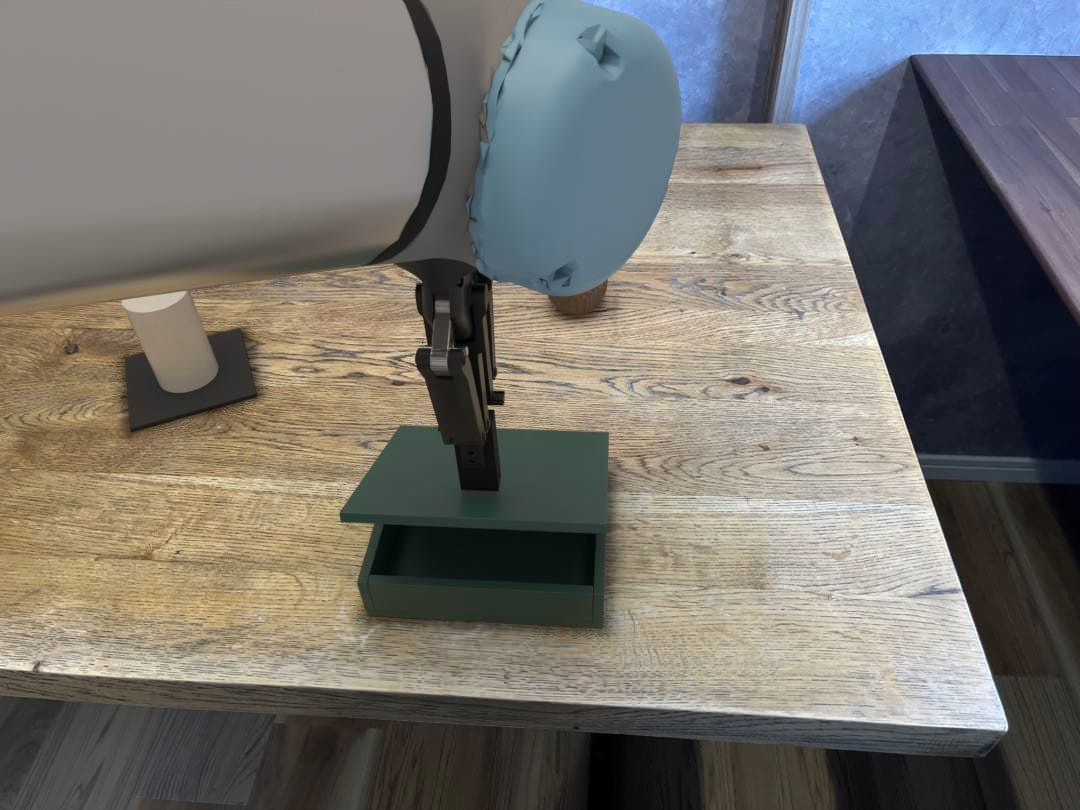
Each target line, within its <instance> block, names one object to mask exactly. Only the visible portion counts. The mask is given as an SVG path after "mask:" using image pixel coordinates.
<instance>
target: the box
mask: <svg viewBox="0 0 1080 810" xmlns="http://www.w3.org/2000/svg"><path fill="white" fill-rule="evenodd" d="M606 544H607V533H606V534H595V533H572V532H550V531H527V530H505V529H482V528H459V527H437V526H414V525H391V524H373V527H372V530H371V533H370V537H369V539H368V543H367V547H366V550H365V553H364V557H363V560H362V564H361V567H360V571H359V574H358V577H357V581H356V585H357V588H358V591H359V595H360V597H361V601H362V604H363V607H364V610H365V614H366V616H367V617H382V618H385V617H387V618H403V619H418V620H419V619H422V620H439V621H440V620H441V621H457V622H458V621H459V622H461V621H462V622H477V623H495V624H496V623H497V624H516V625H531V626H550V627H551V626H552V627H570V628H587V629H603V628H604V620H605V619H604V616H605V588H606V587H605V584H606V583H605V582H606V556H607V555H606V554H607V551H606V550H607V549H606V548H607V545H606Z"/></svg>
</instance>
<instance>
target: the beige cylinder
mask: <svg viewBox="0 0 1080 810" xmlns="http://www.w3.org/2000/svg"><path fill="white" fill-rule="evenodd" d="M120 301H121V306H122V308H123V310H124V312H125V314H126V316H127V318H128V320H129V323H130V325H131V327H132V329H133V332H134V334H135V336H136V338H137V340H138V342H139V344H140V347H141V349H142V351H143V353H145V355H146V357H147V360H148V362H149V364H150V366H151V368H152V370H153V373H154V375H155V377H156V379H157V381H158V383H159V385H160V387H161V388H162V389H164V390H165V391H168V392H172V393H185V392H190V391H194V390H197V389H199V388H201V387H203V386H205V385H207V384H208V383H209V382H211V381H212V380H213V379H214V378H215V376H216V375H217V373H218V369H219V365H218V362H217V360H216V357H215V355H214V352H213V350H212V347H211V344H210V342H209V339H208V337H207V336H208V333H207V331H206V329H205V327H204V324H203V321H202V319H201V317H200V314H199V311H198V309H197V307H196V303H195V301H194V298H193V295H192V293H191V290H190V291H183V292H176V293H168V294H161V295H154V296H147V297H140V298H133V299H126V300H120Z"/></svg>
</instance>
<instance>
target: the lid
mask: <svg viewBox="0 0 1080 810" xmlns="http://www.w3.org/2000/svg"><path fill="white" fill-rule="evenodd" d="M437 428H438V425H437V426H434V425H410V424H409V425H408V424H404V425H403V424H400V425H399V426H398V428H397V429H396V431H395V432H394V433H393V434H392V436H391V437H390V439H389V440H388V442H387V443H386V445H385V446H384V447H383V449H382V451H381V452H380V453H379V455H378V456H377V458H376V459H375V460H374V462H373V463H372V465H371V466H370V467H369V469H368V470H367V472H366V473H365V475H364V477H363V478H362V479H361V481H360V482H359V484H357V487H355V490H353V492H352V494H351V495H350V497H349V498H348V499H347V501H346V502H345V504H344V505H343V506H342V508H341V509H340V511H339V522H340V523H346V524H349V523H350V524H373V525H374V524H391V525H414V526H437V527H459V528H482V529H505V530H527V531H550V532H572V533H595V534H606V535H607V525H608V524H607V523H608V522H607V521H608V492H609V491H608V490H609V489H608V486H609V455H610V454H609V452H610V432H608V431H586V430H584V431H583V430H558V429H557V430H555V429H528V428H527V429H525V428H498V427H496V429H497V439H498V449H499V458H500V468H501V481H500V487H499V491H474V490H461V487H460V481H459V474H458V468H457V461H456V455H455V448H454V445H445V444H444V443H443V439H442V436H441V433H440V431H438V429H437Z"/></svg>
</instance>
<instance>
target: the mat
mask: <svg viewBox="0 0 1080 810" xmlns="http://www.w3.org/2000/svg"><path fill="white" fill-rule="evenodd" d="M207 337H208V339H209V342H210V344H211V347H212V350H213V352H214V355H215V357H216V360H217V362H218V365H219V369H218V373H217V375H216V376H215V378H214V379H213V380H212V381H211V382H209V383H208V384H207V385H205V386H203V387H201V388H199V389H197V390H194V391H190V392H185V393H172V392H168V391H165V390H164V389H162V388H161V387H160V385H159V383H158V381H157V379H156V377H155V375H154V373H153V370H152V368H151V366H150V364H149V362H148V360H147V357H146V355H145V353H144V352H141V353H136V354H133V355H128V356H124V365H125V378H126V379H125V380H126V382H125V383H126V394H127V395H126V396H127V408H128V426H129V430H130V432H134V431H138V430H142V429H145V428H148V427H153V426H157V425H159V424H163V423H167V422H170V421H173V420H174V421H175V420H178V419H181V418H185V417H188V416H191V415H195V414H198V413H203V412H205V411H209V410H214V409H217V408H219V407H221V408H222V407H225V406H227V405H232V404H235V403H239V402H242V401H246V400H248V399H253V398H255V397H258V393H257V389H256V384H255V381H254V377H253V372H252V369H251V365H250V361H249V356H248V352H247V349H246V345H245V341H244V337H243V333H242V329H241V327H237V328H234V329H229V330H226V331H222V332H218V333H215V334H210V335H207Z"/></svg>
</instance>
